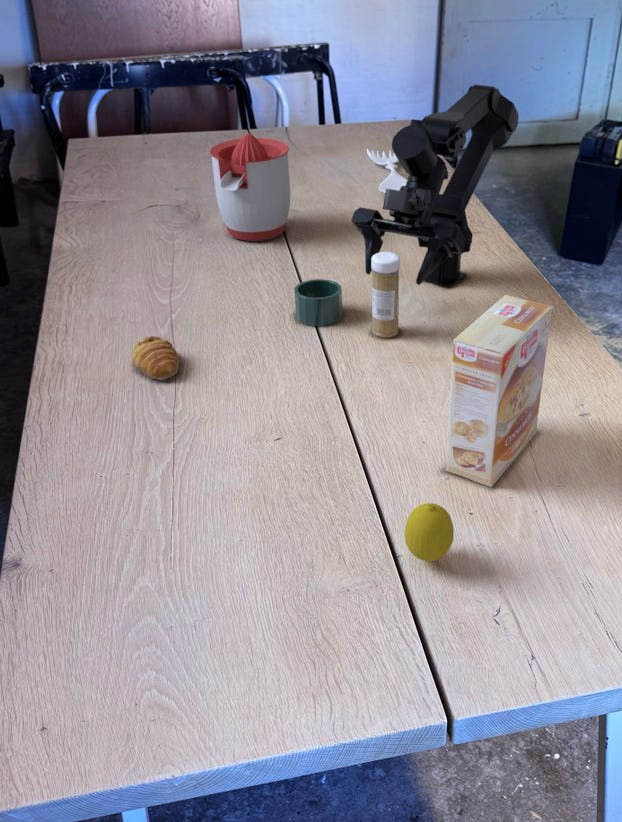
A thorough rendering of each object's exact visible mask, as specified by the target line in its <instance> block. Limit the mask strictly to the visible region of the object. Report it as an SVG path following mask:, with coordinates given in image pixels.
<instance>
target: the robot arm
mask: <svg viewBox="0 0 622 822" xmlns="http://www.w3.org/2000/svg"><path fill="white" fill-rule="evenodd" d="M519 116H520V115H519V111H518V110H517V108H516V106H515V104H514V102H513V101H511V100H510V99H508V98H507V97H505V96H504V95H502V94H501V92H500V89H499V88H496V87H495V86H493V85H484V84H474V85H470V86H469V88H468V90H467V92H466V93H465V94H464V95H463V96H462V97H461V98H459V100H457V101H456V102H455V103H453V105H451V106H450V107H449V108H448V109H447V110H444V111H442V112H433V113H430V114H428V115H425V116H424V117H422V120H421V119H414V118H413V119H411V120H410V124H409V125H407V126H404V127H402V128H400V129H399V131H397V132H396V133H395V134H394V135H393V138H392V141H391V150H392V152H393V155H394V154H395V155H396V157H397V159H398V160H399V161H398V163H399V164H400V165H401V167H402V169H403V170H404V172H405V173H406V174H407V175H408V177H407V183H406V185H405V186H402V187H401V188H400V190H399V191H398V190H392V189H386V193H385V194H384V199H383V205H382V210H386V211H388V215H389V216H390V217H391V218H393V220H392V219H387V218H384V217H383V216H382V214H381V213H380V211H379V210H378V209H373V208H366V207H358V208H356V210H355V211H354V212H353V215H352V217H351V221H350V222H351V223H352V225H353V226H354V227H355V229H356V230H357V231H358V232H359V233H360V235H362V237H363V239H364V240H363V241H364V250H365V252H364V253H365V258H364V260H365V261H364V263H365V273H366V275H367V276H369V275H371V273H372V268H371V259H372V256H373V255H374V254H377V253H380V252H381V250H382V246H383V244H384V240H383V239H382V237H384V236H385V234H386V233H391V234H392V233H393V234H396V235H403V236H406V237H407V236H408V237H412V238H417V243H418V247H419V248H426V249H427V250H426V253H425V255H424V258H423V261H422V263H421V265H420V268H419V270H418V273H417V277H416V281H415V283H416V285H418V286H421V284H422V283H423V282H424V281H425V282H428V283H432V284H435V285H437V286H439V287H440V286H441V287H443V288H450V287H452V286H454V285H455V284H457V283H459V282H460V281H462V280H464V279H466V278H467V276H468V274H467V273H466V272H462V271H461V264H462V263H461V262H462V261H461V260H462V255H463V254H465V253H469V252H471V246H472V243H473V232H472V231H471V229H470V227H469V225H468V218H467V213H466V209H467V206H468V205H469V202H470V200H471V199H472V196H473V194H474V192H475V190H476V188H477V186H478V184H479V182H480V179H481V177H482V176H483V173H484V171H485V170H486V167H487V166H488V163H489V161H490V159H491V157H492V155H493V152H494V151H496V150H498V149H499V148H501V147H503V146H504V145H506V144H507V143H508V141H510V139H511V137H512V135H513V133H515V132H516V130H517V128H518V125H519V118H520V117H519ZM469 131H470V133H471V136H470V139H469V140H468V142H467V136H466V135H467V133H468V132H469ZM466 143H467V145H466ZM465 145H466V146H465ZM464 147H465V149H464ZM463 149H464V150H463ZM462 150H463V153H462V154H461V157H460V158H459V161H458V162H457V165H456V167H455V169H454V170H453V173H452V174H451V177H450V179H449V171H448V167H447V165H446V162H445V161H444V160H443V158H442V157H440V156H443V157H449V158H450V157H451V158H456V157H458V155H459V154H460V152H461V151H462ZM448 179H449V181H448V183H447V184H446V187H445V188H444V191H443V192H442V193H440V192H441V190H442V187H443V184H444V181H445V180H448Z"/></svg>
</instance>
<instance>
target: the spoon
mask: <svg viewBox="0 0 622 822" xmlns="http://www.w3.org/2000/svg"><path fill="white" fill-rule="evenodd" d="M366 153H367V156H368V158H370V159H371V161H372V162H373V163H375V164H376V165H378V166H381V167H384V168H385V169H386V170H389V171H390V173H389V175H388V176H387V177H386V178H385V179H384V180H383V181H382V182H381V183H380V184H379V186H378V190H379V192H380V193H382V194H384V195H385V193H386V189H392V190H398V191H399V190H400V188H401V187H402V186H405V185H406V183H407V180H408V178H406V177H404V176H402V175H400V174H399V173H398V172H397V171H396V170H398V169H399V166H398V165H397V163H399V160H398V159H397V157H396V155H395V154H394V153H393V154H392V151H391V150H389V151H388V155H387V153H386V151H385V150H384V151H382V153H381V155H380V153H379V151H378V150H376V153H375V151H374V149H372V150H371V151H370V150H369V148H366ZM388 156H389V157H388Z"/></svg>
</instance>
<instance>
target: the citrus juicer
mask: <svg viewBox="0 0 622 822" xmlns="http://www.w3.org/2000/svg"><path fill="white" fill-rule="evenodd" d="M289 151H290V147H289V146H288V144H286V143H285V142H283V141H282V140H281V141H280V140H278V139H272V138H266V137H265V138H262V137H255V136H254V135H253V134H251V132H247V133H245V134H244V135H243V136H242V137H241V138H237V139H231V140H226V141H222V142H220V143H217V144H215V145H213V146H212V147H211V148H210V150H209V155H210V156H211V163H212V164H211V165H212V171H213V180H214V187H215V188H214V189H215V196H216V202H217V206H218V210H219V214H220V216H221V218H222V221H223V225H224V226H225V229H226V230H227V232H228V234H229V235H230V236H231V237H232V238H234V239H237V240H241V241H248V242H249V241H250V242H251V241H252V242H257V241H259V242H266V241H268V240H271V239H274V238H276V237H279V236H280V235H282V234H283V233H284V231H285V229H286V227H287V223H288V218H289V212H290V208H291V207H290V206H291V184H290V183H291V182H290V169H289Z"/></svg>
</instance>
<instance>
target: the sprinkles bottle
mask: <svg viewBox="0 0 622 822" xmlns="http://www.w3.org/2000/svg"><path fill="white" fill-rule="evenodd" d="M371 268H372V271H371V273H372V285H371V294H372V295H371V296H372V297H371V298H372V299H371V302H372V303H371V309H372V311H371V315H372V328H371V333H372V334H373V335H374V336H376V337H377V338H382V339H383V338H384V339H387V338H393V337H395V336H397V335H398V334H399V331H400V329H399V314H400V299H399V298H400V297H399V295H400V294H399V291H400V290H399V289H400V288H399V284H400V283H399V282H400V279H399V276H400V275H399V274H400V273H399V272H400V269H401V257H400V255H398V254H397V253H394V252H390V251H380V252H379V253H377V254H374V255H373V256H372V259H371Z"/></svg>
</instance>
